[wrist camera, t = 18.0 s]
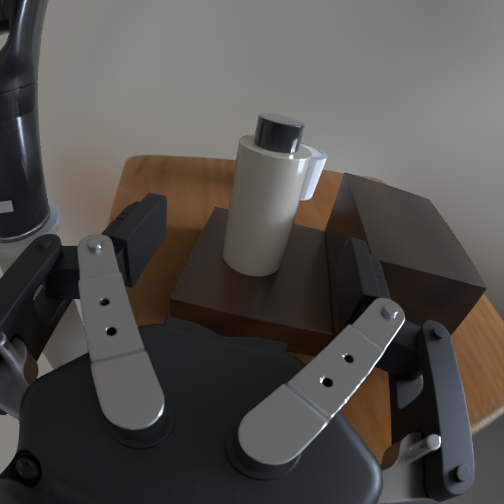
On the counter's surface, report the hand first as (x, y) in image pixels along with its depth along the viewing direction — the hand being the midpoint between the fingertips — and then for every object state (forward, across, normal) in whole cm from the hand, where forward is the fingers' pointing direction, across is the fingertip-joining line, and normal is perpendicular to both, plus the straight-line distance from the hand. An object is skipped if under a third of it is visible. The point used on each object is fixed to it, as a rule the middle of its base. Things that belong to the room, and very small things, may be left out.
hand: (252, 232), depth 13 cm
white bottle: (+10, 0, +9) cm, 14 cm away
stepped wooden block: (+10, -6, +12) cm, 17 cm away
